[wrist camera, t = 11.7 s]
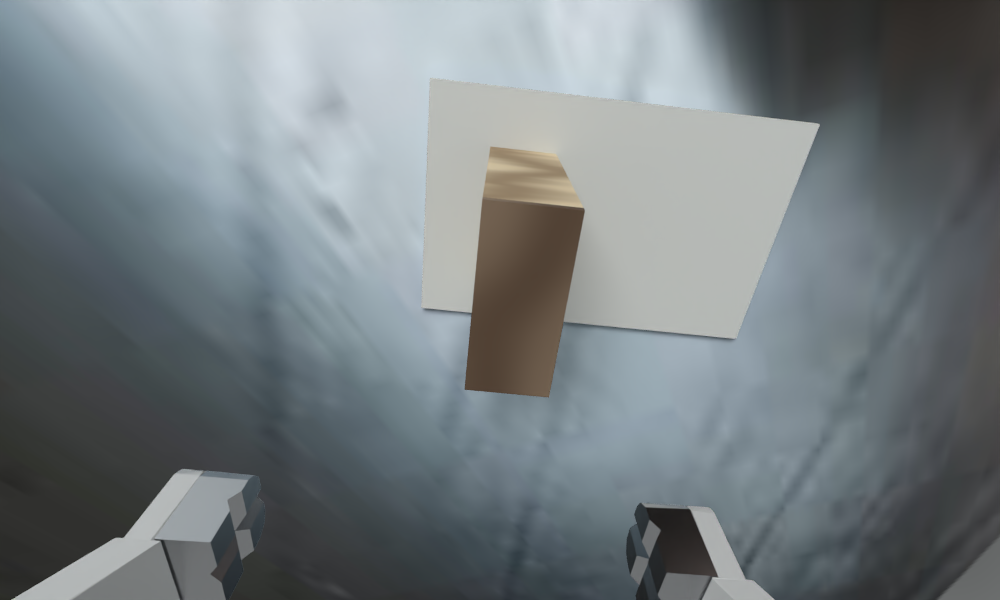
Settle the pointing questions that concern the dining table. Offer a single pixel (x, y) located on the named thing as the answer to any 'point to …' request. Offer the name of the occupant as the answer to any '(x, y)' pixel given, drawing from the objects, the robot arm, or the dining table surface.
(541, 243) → the oak slab
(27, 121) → the dining table surface
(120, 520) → the dining table surface
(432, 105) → the felt mat
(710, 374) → the dining table surface
